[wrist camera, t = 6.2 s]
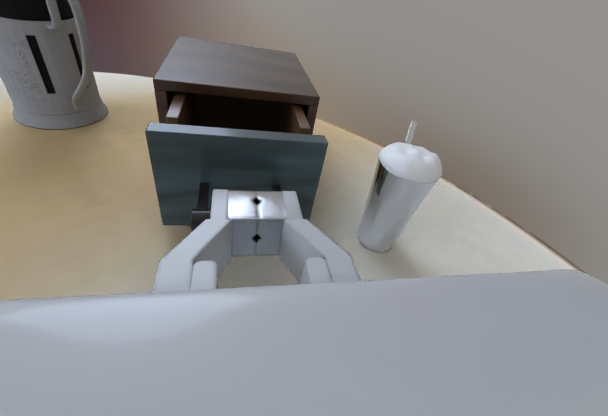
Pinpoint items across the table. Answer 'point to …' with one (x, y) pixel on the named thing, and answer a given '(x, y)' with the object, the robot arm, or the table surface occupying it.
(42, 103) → the glass holder
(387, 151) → the milkshake
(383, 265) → the table surface
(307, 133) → the drawer
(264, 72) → the cabinet
